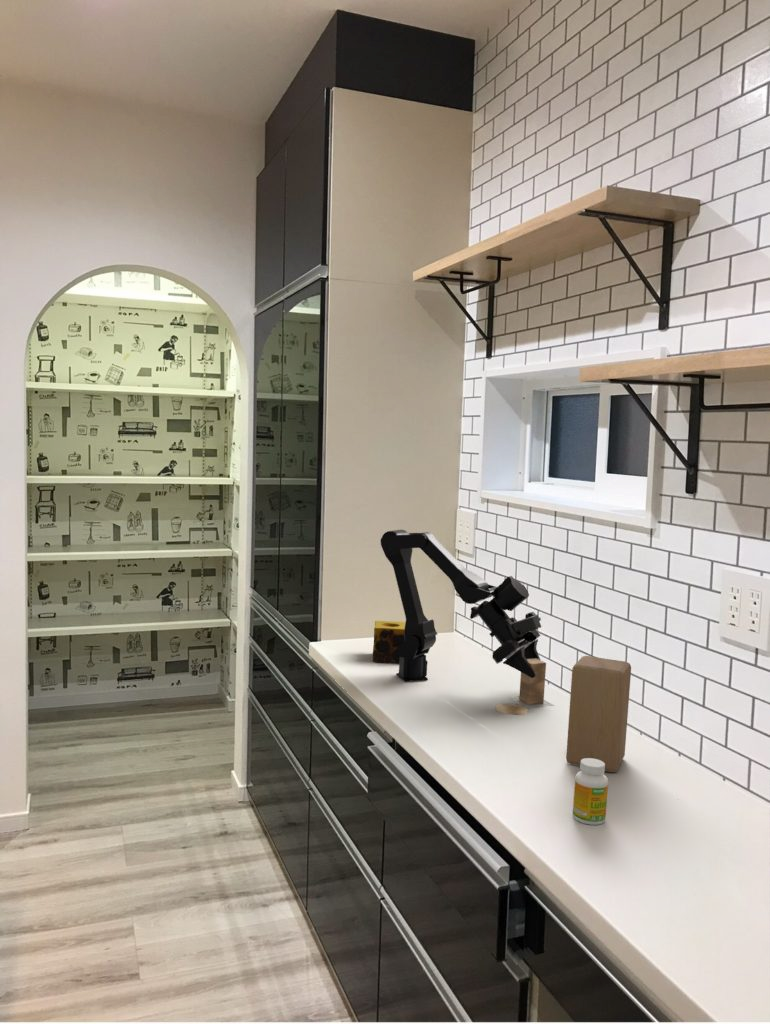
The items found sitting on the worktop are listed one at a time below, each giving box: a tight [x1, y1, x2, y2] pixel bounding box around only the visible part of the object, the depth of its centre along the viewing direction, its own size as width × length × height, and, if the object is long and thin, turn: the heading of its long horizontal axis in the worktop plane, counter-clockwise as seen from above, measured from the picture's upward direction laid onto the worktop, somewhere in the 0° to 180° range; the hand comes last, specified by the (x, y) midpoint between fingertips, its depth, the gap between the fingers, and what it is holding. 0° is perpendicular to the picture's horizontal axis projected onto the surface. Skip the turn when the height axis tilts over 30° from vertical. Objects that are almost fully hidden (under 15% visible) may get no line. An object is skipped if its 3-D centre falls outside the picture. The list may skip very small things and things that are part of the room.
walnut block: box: [518, 658, 547, 705], centre depth 202 cm, size 4×4×10 cm
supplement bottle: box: [572, 758, 609, 826], centre depth 140 cm, size 5×5×10 cm
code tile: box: [508, 696, 555, 709], centre depth 202 cm, size 8×8×1 cm
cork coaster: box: [494, 703, 529, 716], centre depth 195 cm, size 8×8×1 cm
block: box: [565, 655, 632, 774], centre depth 165 cm, size 10×10×20 cm
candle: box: [372, 620, 406, 665], centre depth 236 cm, size 10×10×10 cm
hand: (538, 674), depth 201 cm, fingers closed on walnut block, 6 cm apart
